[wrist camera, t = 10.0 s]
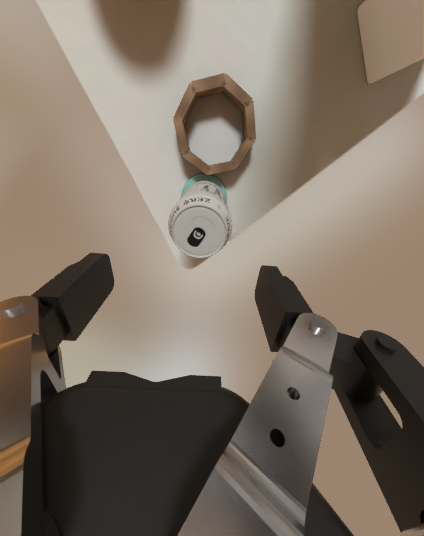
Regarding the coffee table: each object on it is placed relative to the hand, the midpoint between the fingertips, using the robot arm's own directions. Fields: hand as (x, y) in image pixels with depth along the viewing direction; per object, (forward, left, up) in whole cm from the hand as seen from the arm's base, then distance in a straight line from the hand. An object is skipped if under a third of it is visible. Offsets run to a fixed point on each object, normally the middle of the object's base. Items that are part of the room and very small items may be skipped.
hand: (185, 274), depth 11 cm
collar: (-8, -3, -23) cm, 24 cm away
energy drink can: (0, +1, -23) cm, 23 cm away
